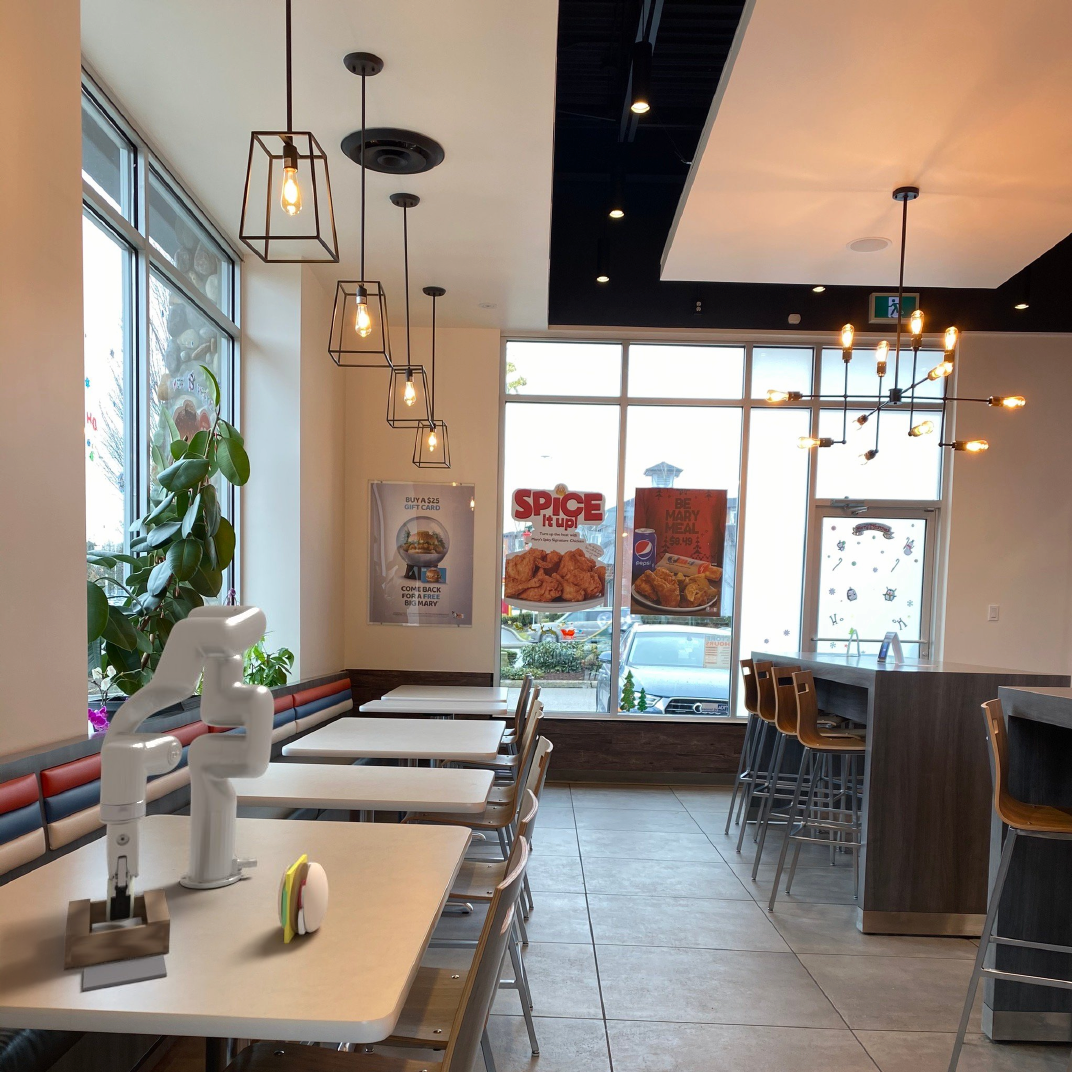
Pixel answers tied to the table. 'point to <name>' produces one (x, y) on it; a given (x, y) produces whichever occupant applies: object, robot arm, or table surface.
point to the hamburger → (302, 898)
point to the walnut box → (116, 931)
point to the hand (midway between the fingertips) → (119, 913)
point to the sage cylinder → (109, 895)
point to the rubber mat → (124, 972)
